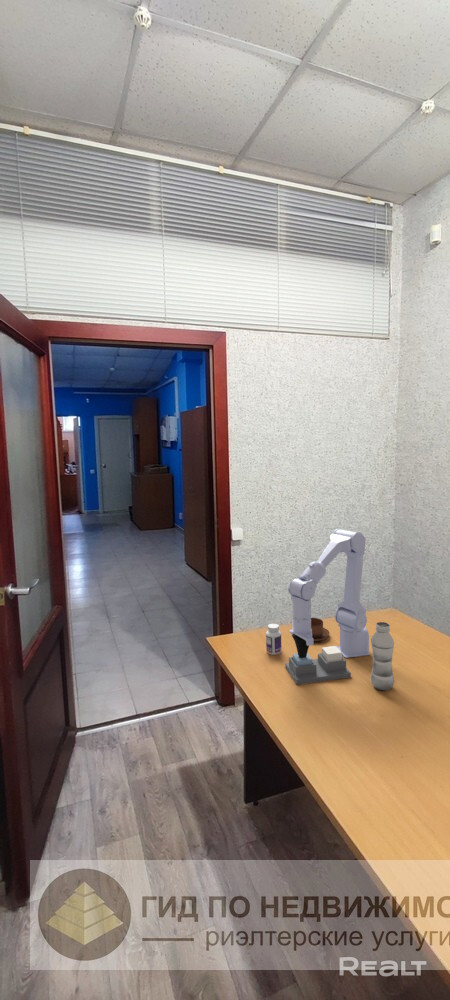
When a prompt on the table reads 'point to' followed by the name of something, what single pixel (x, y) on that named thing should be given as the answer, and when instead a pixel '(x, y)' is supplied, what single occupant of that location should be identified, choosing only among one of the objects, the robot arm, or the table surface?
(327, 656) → the white key
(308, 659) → the blue key
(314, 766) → the table surface
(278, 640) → the pill bottle
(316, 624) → the cup and saucer
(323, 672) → the key panel
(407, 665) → the table surface
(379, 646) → the plastic bottle
